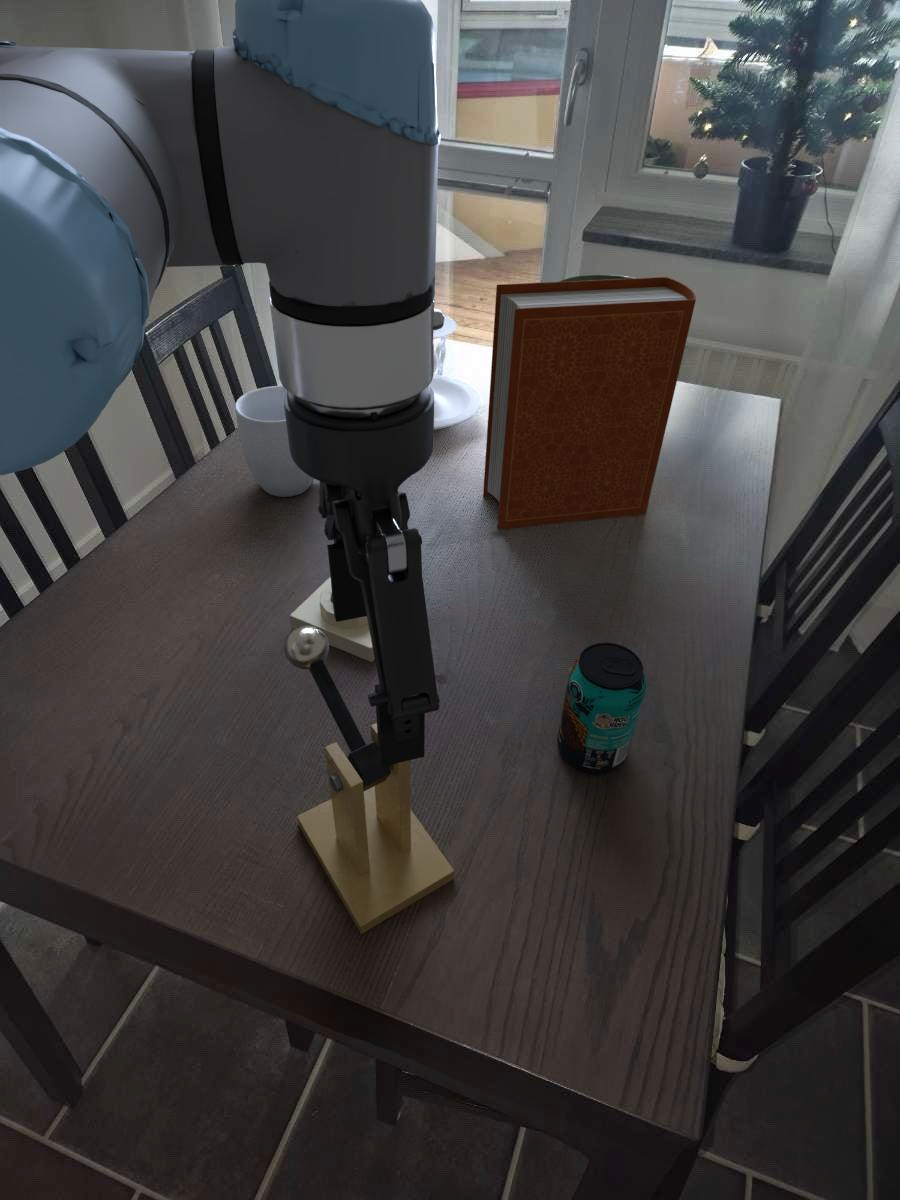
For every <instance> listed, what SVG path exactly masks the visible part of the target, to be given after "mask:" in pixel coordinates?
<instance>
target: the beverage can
mask: <svg viewBox="0 0 900 1200" xmlns="http://www.w3.org/2000/svg"><path fill="white" fill-rule="evenodd" d="M566 682H567V683H566V688H565V692H564V698H563V703H562V709H561V714H560V720H559V726H558V732H557V736H556V737H557V738H556V742H557V748H558V750H559V752H560V754H561V755H562V757H563V758H564V759H565V760H566V762H568V763H569V764H570V765H572V766H573V767H575V768H577V769H580V770H581V771H585V772H588V773H595V774H601V773H602V774H603V773H608V772H611V771H614V770H615V769H618V768H619V767H620V766H622V765H623V764H624V763H625V761H626V759H627V757H628V754H629V750H630V747H631V743H632V740H633V737H634V733H635V729H636V726H637V723H638V718H639V716H640V712H641V709H642V706H643V702H644V698H645V694H646V692H647V688H648V687H647V685H648V684H647V677H646V675H645V673H644V665H643V662H642V660H641V659H640V657H639V656H638V655H637V653H635V652H634V651H633V650H631V649H630V648H628V647H626V646H624V645H621V644H618V643H615V642H614V643H613V642H597V643H593V644H591V645H588V646H586V647H585V648H584V649H583V650H582V651H581V653H580V655H579V656H578V657H577V658H576V659H575V660H574V661H573V662H572V664H571V665H570V668H569V671H568V677H567V681H566Z"/></svg>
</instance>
